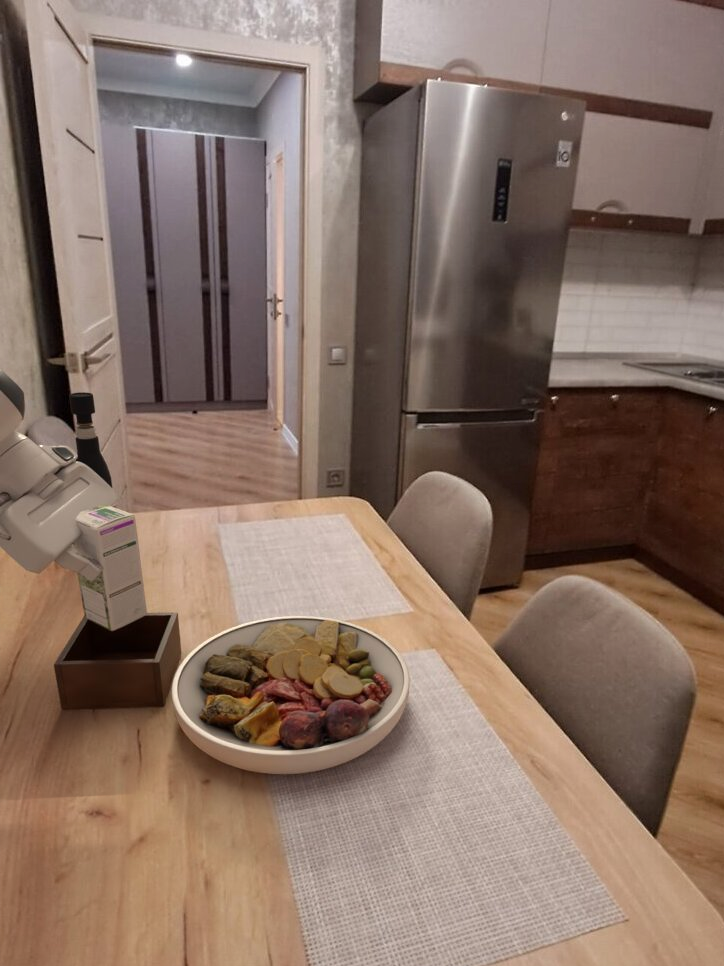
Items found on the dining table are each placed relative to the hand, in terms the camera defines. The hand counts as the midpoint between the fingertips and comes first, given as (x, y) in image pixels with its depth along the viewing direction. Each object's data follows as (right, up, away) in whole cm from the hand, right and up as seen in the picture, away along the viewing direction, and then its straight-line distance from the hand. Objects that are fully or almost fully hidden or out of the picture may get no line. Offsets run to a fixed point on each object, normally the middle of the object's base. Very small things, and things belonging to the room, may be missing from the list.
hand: (113, 559), depth 84 cm
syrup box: (-1, -8, +3) cm, 9 cm away
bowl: (+22, -20, +4) cm, 30 cm away
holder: (-1, -17, +7) cm, 18 cm away
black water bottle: (-21, 0, +45) cm, 50 cm away
